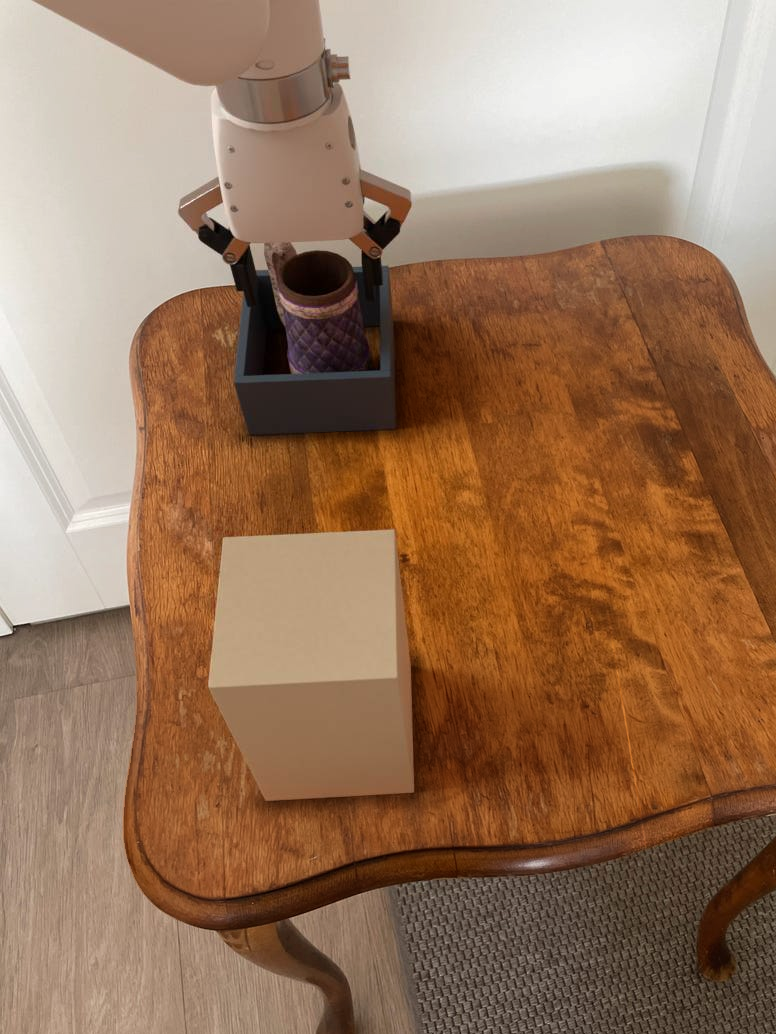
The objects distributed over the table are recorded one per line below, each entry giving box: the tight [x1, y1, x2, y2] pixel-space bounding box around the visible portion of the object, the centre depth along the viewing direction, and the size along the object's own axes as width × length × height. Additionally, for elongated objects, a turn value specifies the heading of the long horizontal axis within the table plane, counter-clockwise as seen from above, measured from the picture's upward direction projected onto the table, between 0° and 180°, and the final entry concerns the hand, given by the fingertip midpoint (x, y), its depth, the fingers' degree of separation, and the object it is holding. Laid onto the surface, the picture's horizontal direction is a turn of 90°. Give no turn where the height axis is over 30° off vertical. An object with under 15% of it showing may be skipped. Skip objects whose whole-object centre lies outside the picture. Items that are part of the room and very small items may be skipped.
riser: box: [207, 528, 415, 802], centre depth 59 cm, size 10×10×16 cm
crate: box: [233, 265, 397, 436], centre depth 82 cm, size 13×14×6 cm
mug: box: [263, 242, 372, 374], centre depth 79 cm, size 10×7×12 cm
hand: (312, 293), depth 77 cm, fingers open, 9 cm apart
